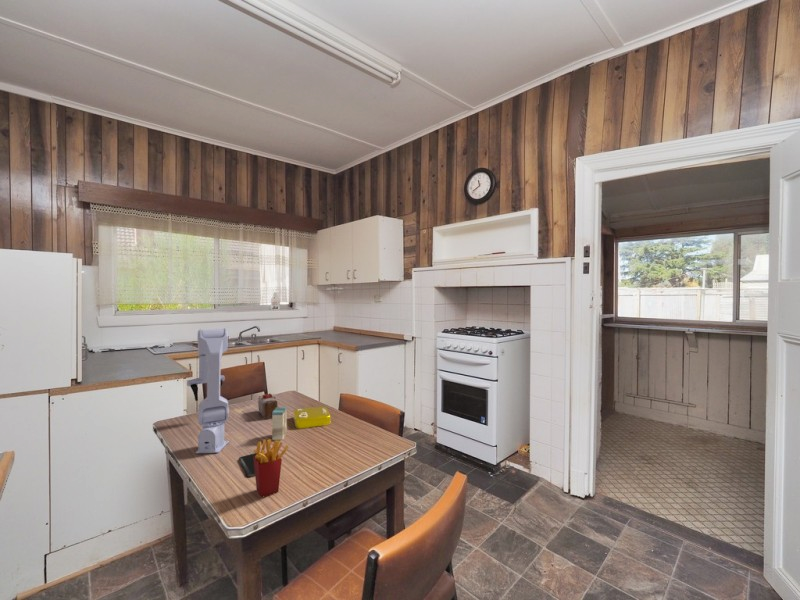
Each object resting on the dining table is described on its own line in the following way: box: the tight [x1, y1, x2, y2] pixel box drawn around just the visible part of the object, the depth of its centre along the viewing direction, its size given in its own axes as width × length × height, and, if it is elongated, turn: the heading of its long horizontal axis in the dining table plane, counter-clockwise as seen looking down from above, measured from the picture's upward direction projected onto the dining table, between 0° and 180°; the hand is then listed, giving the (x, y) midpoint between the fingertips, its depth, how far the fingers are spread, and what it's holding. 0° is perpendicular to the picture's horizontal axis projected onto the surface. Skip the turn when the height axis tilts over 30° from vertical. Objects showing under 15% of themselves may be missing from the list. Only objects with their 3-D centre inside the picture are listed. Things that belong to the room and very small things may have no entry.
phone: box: [238, 451, 261, 479], centre depth 117 cm, size 8×1×15 cm
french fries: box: [253, 438, 290, 498], centre depth 103 cm, size 9×8×15 cm
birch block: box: [271, 406, 287, 441], centre depth 140 cm, size 6×4×11 cm, turn 5°
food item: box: [257, 393, 279, 420], centre depth 166 cm, size 14×8×10 cm, turn 34°
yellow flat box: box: [293, 405, 332, 430], centre depth 158 cm, size 15×15×5 cm
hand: (206, 398), depth 155 cm, fingers open, 7 cm apart
